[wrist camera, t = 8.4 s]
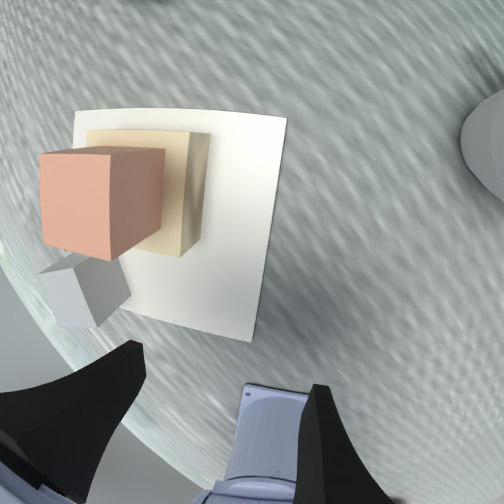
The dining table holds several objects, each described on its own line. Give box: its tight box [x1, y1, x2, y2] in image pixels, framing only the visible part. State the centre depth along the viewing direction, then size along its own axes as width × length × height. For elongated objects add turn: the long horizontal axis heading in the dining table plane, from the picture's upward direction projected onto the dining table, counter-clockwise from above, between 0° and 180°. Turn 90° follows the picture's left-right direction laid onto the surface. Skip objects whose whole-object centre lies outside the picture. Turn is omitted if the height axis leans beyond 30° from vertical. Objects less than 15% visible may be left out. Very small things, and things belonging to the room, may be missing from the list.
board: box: [73, 108, 287, 342], centre depth 21 cm, size 16×16×1 cm
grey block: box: [37, 252, 131, 328], centre depth 21 cm, size 4×4×5 cm
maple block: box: [86, 129, 211, 258], centre depth 18 cm, size 7×7×4 cm
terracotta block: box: [40, 146, 165, 262], centre depth 14 cm, size 4×4×5 cm
